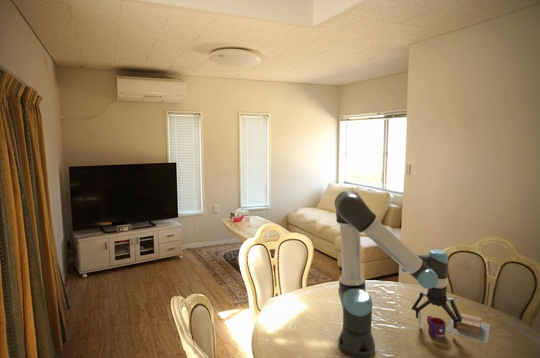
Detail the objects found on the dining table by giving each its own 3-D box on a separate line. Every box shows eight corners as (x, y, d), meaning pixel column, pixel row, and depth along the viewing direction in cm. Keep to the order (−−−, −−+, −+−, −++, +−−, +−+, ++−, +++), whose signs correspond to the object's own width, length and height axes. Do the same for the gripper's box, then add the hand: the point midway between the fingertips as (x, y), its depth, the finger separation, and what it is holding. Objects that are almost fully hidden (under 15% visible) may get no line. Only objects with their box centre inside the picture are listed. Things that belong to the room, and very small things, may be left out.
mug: (432, 340, 149) (433, 325, 148) (422, 327, 159) (422, 313, 158) (447, 339, 149) (448, 325, 148) (436, 327, 159) (437, 313, 158)
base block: (478, 335, 151) (479, 327, 151) (456, 329, 156) (456, 320, 156) (480, 326, 158) (481, 318, 158) (458, 320, 164) (459, 312, 163)
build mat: (487, 344, 146) (487, 343, 145) (445, 331, 155) (445, 331, 155) (490, 325, 160) (490, 324, 160) (452, 315, 169) (452, 314, 169)
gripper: (470, 288, 147) (468, 334, 149) (409, 275, 161) (408, 318, 164) (468, 295, 141) (466, 343, 143) (405, 281, 155) (404, 325, 158)
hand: (435, 329), depth 154 cm, fingers open, 13 cm apart
